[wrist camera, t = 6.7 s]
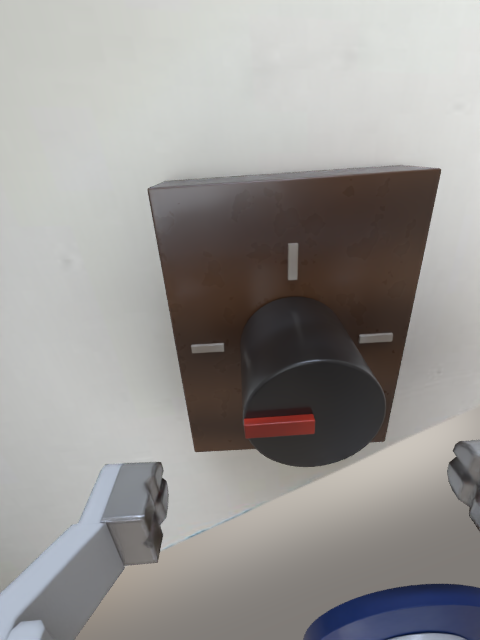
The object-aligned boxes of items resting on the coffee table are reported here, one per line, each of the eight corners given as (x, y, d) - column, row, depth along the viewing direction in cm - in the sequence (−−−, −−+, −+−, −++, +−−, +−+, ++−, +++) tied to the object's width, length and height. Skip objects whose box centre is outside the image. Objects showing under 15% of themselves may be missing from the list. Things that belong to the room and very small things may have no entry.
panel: (364, 402, 19) (386, 444, 17) (200, 411, 20) (194, 455, 17) (401, 164, 13) (445, 168, 11) (163, 180, 14) (145, 188, 11)
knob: (346, 291, 13) (402, 361, 9) (339, 379, 15) (381, 471, 11) (236, 300, 13) (237, 373, 9) (244, 386, 15) (248, 480, 11)
